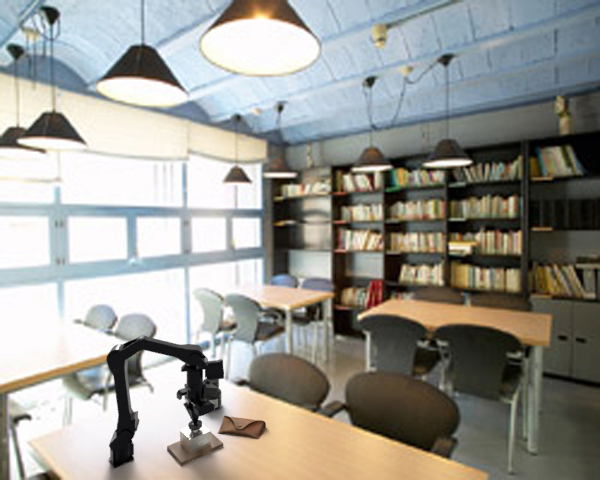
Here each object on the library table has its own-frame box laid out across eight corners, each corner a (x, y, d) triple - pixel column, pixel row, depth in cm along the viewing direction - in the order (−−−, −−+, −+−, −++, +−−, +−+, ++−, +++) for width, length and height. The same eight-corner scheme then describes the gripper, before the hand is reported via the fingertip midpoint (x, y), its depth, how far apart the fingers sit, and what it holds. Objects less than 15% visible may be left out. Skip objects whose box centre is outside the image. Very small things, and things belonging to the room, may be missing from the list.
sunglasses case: (215, 433, 140) (219, 414, 143) (221, 433, 146) (225, 415, 149) (259, 439, 136) (262, 419, 139) (264, 439, 142) (266, 420, 146)
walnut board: (181, 465, 121) (181, 462, 121) (167, 449, 130) (167, 446, 130) (223, 446, 132) (223, 443, 132) (207, 432, 141) (207, 429, 141)
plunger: (192, 445, 128) (192, 428, 127) (186, 439, 131) (186, 423, 131) (204, 440, 131) (204, 423, 130) (198, 434, 134) (198, 418, 134)
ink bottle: (196, 409, 158) (196, 382, 157) (207, 400, 166) (206, 374, 166) (215, 413, 155) (215, 385, 155) (225, 403, 164) (225, 377, 163)
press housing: (190, 454, 125) (189, 439, 125) (180, 444, 131) (180, 429, 131) (210, 445, 131) (210, 430, 131) (200, 435, 137) (200, 421, 136)
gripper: (227, 383, 129) (228, 425, 129) (203, 367, 142) (203, 406, 143) (199, 392, 121) (199, 438, 122) (175, 375, 135) (176, 416, 135)
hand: (195, 423), depth 131 cm, fingers closed, pressing on plunger
